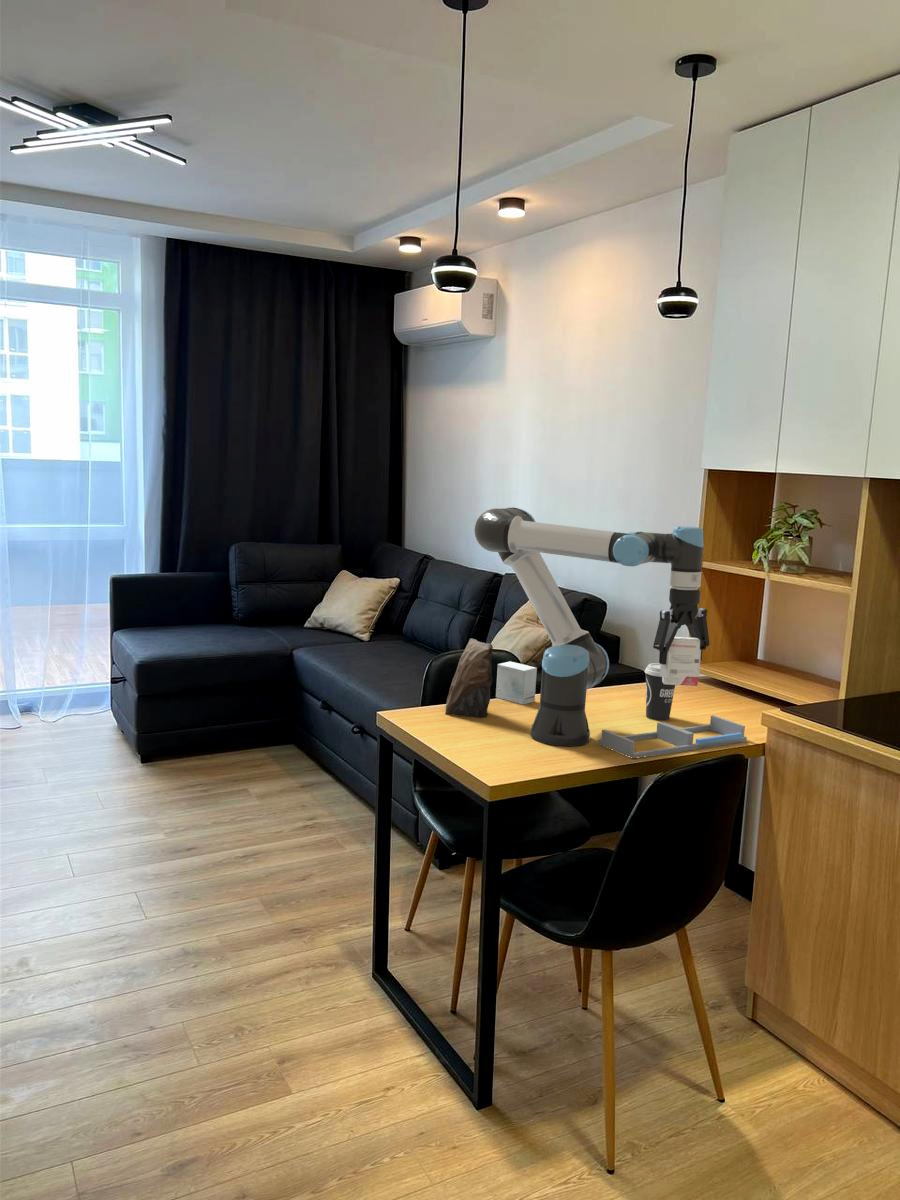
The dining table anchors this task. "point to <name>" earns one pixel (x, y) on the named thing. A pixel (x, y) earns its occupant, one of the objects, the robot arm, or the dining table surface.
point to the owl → (471, 682)
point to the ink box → (684, 662)
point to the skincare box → (516, 682)
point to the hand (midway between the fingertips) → (679, 675)
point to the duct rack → (677, 738)
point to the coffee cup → (657, 694)
